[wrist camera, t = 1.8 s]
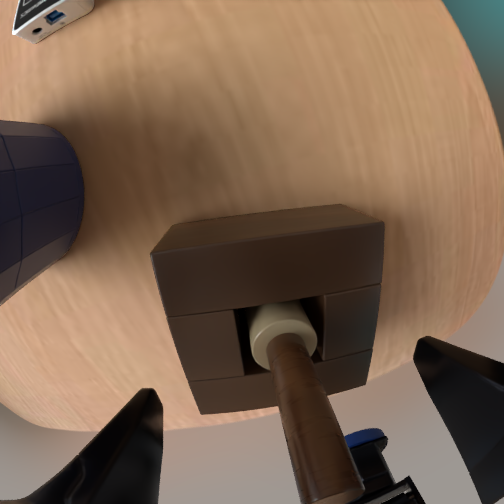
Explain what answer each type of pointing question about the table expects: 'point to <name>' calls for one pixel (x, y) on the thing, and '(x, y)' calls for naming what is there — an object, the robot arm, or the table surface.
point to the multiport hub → (46, 17)
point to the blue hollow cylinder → (35, 202)
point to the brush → (303, 404)
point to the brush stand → (270, 296)
